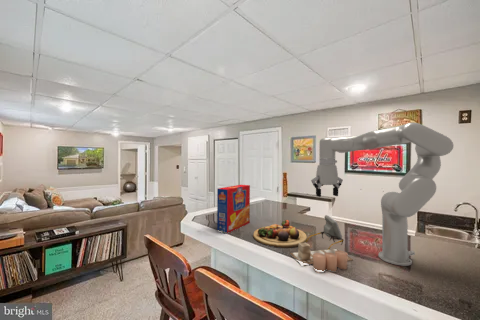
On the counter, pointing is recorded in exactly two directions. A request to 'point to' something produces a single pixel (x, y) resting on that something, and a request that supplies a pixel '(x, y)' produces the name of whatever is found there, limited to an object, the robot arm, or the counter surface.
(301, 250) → the beige block
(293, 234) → the wooden plate with food
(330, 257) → the tan short cylinder
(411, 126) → the robot arm
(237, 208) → the pasta box
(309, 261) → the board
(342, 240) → the eyeglasses
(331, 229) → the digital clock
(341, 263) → the tan short cylinder
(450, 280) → the counter surface
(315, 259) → the tan short cylinder
